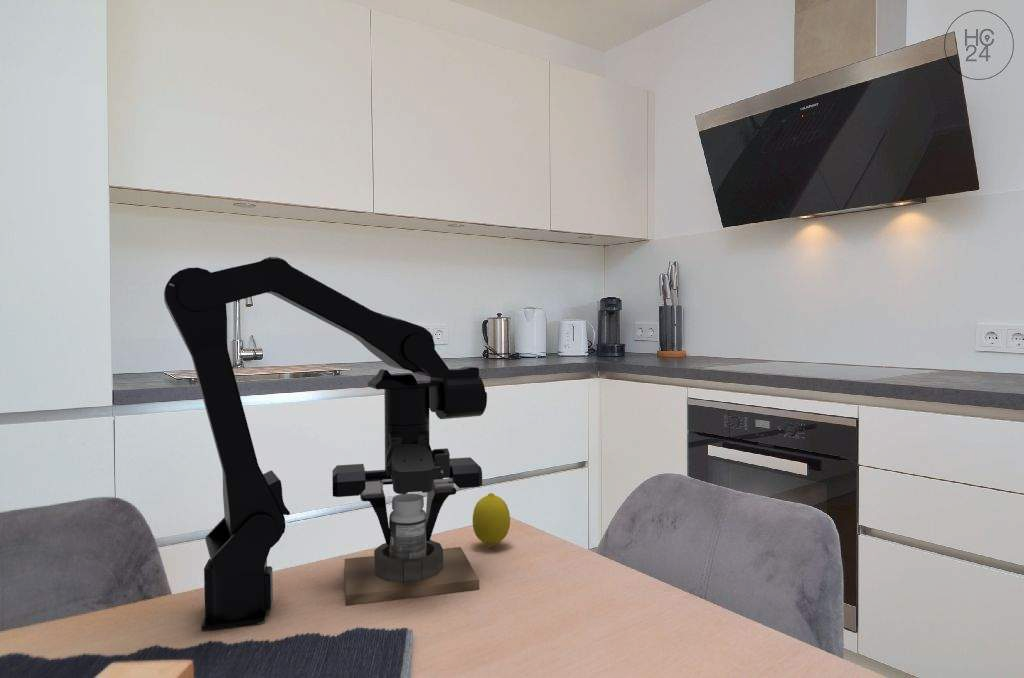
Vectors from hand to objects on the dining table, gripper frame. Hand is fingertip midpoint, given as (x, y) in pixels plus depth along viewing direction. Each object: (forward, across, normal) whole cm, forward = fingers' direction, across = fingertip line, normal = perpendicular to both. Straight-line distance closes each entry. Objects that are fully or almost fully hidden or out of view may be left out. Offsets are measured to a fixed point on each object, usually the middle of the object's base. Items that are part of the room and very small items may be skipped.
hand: (407, 542), depth 83 cm
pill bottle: (+3, 0, 0) cm, 3 cm away
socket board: (+5, 0, 0) cm, 5 cm away
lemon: (+5, +13, +8) cm, 16 cm away
